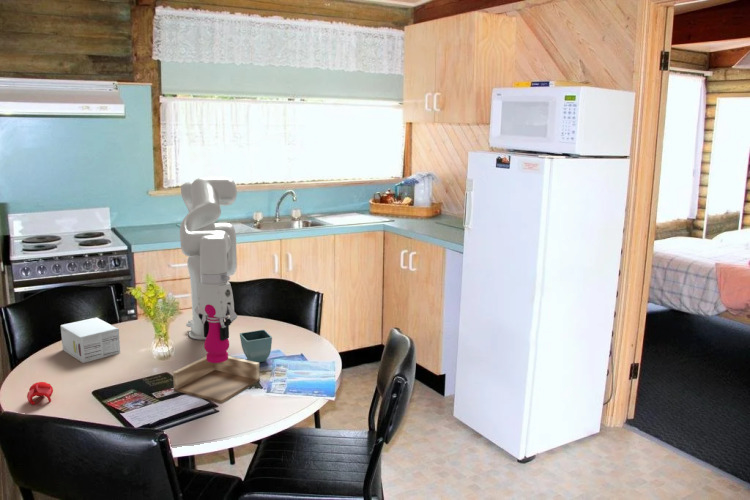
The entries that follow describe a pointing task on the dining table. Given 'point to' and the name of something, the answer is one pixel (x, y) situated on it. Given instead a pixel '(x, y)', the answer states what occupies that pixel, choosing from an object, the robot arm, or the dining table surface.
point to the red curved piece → (40, 391)
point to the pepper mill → (215, 338)
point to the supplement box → (90, 339)
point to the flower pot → (256, 345)
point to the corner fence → (205, 367)
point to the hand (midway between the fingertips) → (216, 337)
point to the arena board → (217, 386)
